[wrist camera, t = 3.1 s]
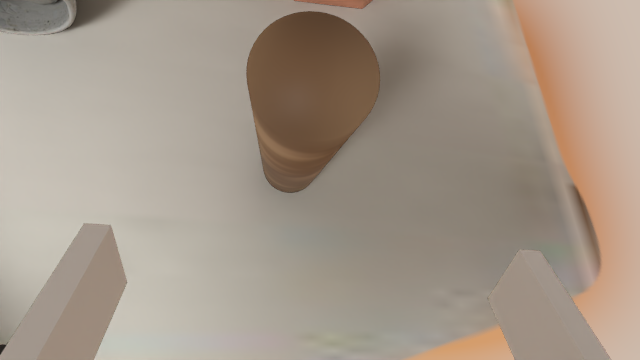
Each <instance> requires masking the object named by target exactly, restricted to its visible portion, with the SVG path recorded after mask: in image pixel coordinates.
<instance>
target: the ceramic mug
mask: <svg viewBox="0 0 640 360" xmlns="http://www.w3.org/2000/svg"><path fill="white" fill-rule="evenodd" d="M75 17H76V0H0V32H5V33H13V34H26V35H45V34H52V33H56V32H60V31H63V30H64V29H66V28H68V27H70V26H71V24H72V23H73V22H74V19H75Z"/></svg>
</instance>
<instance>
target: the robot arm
mask: <svg viewBox="0 0 640 360" xmlns="http://www.w3.org/2000/svg"><path fill="white" fill-rule="evenodd" d="M126 284H127V280H126V276H125V273H124V269H123V266H122V262H121V259H120V255H119V252H118V248H117V244H116V241H115V237H114V234H113V230H112V227H111V225H102V224H86V223H84V224H83V226H82V227H81V229H80V231H79V232H78V234H77V235H76V237H75V238H74V240H73V242H72V243H71V245H70V246H69V248H68V249H67V251H66V253H65V254H64V256H63V257H62V259H61V260H60V262H59V264H58V265H57V267H56V268H55V270H54V271H53V273H52V275H51V276H50V278H49V279H48V281H47V282H46V284H45V286H44V287H43V289H42V290H41V292H40V293H39V295H38V297H37V298H36V300H35V301H34V303H33V304H32V306H31V308H30V309H29V311H28V312H27V314H26V315H25V317H24V319H23V320H22V322H21V323H20V325H19V326H18V328H17V330H16V331H15V333H14V334H13V336H12V337H11V339H10V341H9V342H8V344H7V345H0V360H94V358H95V356H96V353H97V351H98V349H99V346H100V344H101V342H102V339H103V337H104V335H105V333H106V330H107V328H108V326H109V323H110V321H111V319H112V316H113V314H114V312H115V310H116V307H117V305H118V303H119V300H120V298H121V296H122V293H123V291H124V289H125V287H126ZM488 301H489V303H490V305H491V307H492V310H493V312H494V314H495V316H496V318H497V321H498V323H499V325H500V327H501V330H502V332H503V334H504V336H505V339H506V341H507V343H508V345H509V347H510V350H511V352H512V354H513V356H514V359H515V360H611V359H610V357H609V355H608V354H607V352H606V351H605V349H604V348H603V346H602V345H601V343H600V342H599V340H598V338H597V337H596V336H595V334H594V332H593V331H592V329H591V328H590V326H589V325H588V324H587V322H586V320H585V319H584V317H583V316H582V314H581V312H580V311H579V309H578V308H577V306H576V305H575V303H574V302H573V300H572V298H571V297H570V295H569V294H568V292H567V291H566V289H565V288H564V286H563V285H562V283H561V282H560V280H559V279H558V277H557V275H556V274H555V272H554V271H553V269H552V268H551V266H550V265H549V263H548V262H547V260H546V259H545V257H544V255H543V254H542V252H541V251H538V250H521V249H519V251H518V252H517V254H516V255H515V257H514V258H513V260H512V261H511V263H510V265H509V266H508V268H507V269H506V271H505V272H504V274H503V275H502V277H501V278H500V280H499V282H498V283H497V285H496V286H495V288H494V289H493V291H492V292H491V294H490V295H489V297H488Z"/></svg>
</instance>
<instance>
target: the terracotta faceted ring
mask: <svg viewBox="0 0 640 360" xmlns="http://www.w3.org/2000/svg"><path fill="white" fill-rule="evenodd" d="M294 1H302V2H310V3H318V4H327V5H335V6H343V7H352V8H360V9H362V8H364V7H365V6H366V5H367V4H369V3H370V2H371V1H372V0H294Z"/></svg>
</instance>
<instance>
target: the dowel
mask: <svg viewBox="0 0 640 360" xmlns="http://www.w3.org/2000/svg"><path fill="white" fill-rule="evenodd" d="M247 84H248V90H249V95H250V100H251V106H252V111H253V116H254V122H255V127H256V132H257V138H258V143H259V148H260V153H261V159H262V164H263V169H264V174H265V176H266V179H267V180H268V182H269V183H270V184H271V185H272V186H273V187H274V188H276V189H278V190H280V191H283V192H288V193H293V192H298V191H301V190H303V189H304V188H306V187H307V186H308V185H309V184H310V183H311V182H312V181H313V180H314V178H315V177H316V176H317V175H318V174H319V173H320V171H321V170H322V169H323V168H324V167H325V165H326V164H327V163H328V162H329V161H330V160H331V158H332V157H333V156H334V155H335V154H336V153H337V151H338V150H339V149H340V148H341V147H342V145H343V144H344V143H345V142H346V141H347V140H348V138H349V137H350V136H351V135H352V134H353V132H354V131H355V130H356V129H357V128H358V127H359V125H360V124H361V123H362V122H363V121H364V119H365V118H366V117H367V116H368V114H369V113H370V111H371V110H372V108H373V106H374V104H375V102H376V99H377V96H378V92H379V85H380V72H379V65H378V62H377V58H376V56H375V53H374V51H373V49H372V47H371V46H370V44H369V42H368V41H367V40H366V38H365V37H364V36H363V35H362V34H361V33H360V32H359V31H358V30H357V29H356V28H355V27H354V26H352V25H351V24H350V23H348V22H346V21H345V20H343V19H341V18H339V17H336V16H334V15H330V14H327V13H322V12H312V11H308V12H298V13H293V14H290V15H287V16H284V17H282V18H280V19H278V20H276V21H275V22H273V23H272V24H270V25H269V26H268V27H267V28H266V29H265V30H264V31H263V32H262V33H261V34H260V35H259V37H258V38H257V40H256V41H255V43H254V45H253V47H252V49H251V51H250V54H249V58H248V62H247Z"/></svg>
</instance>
